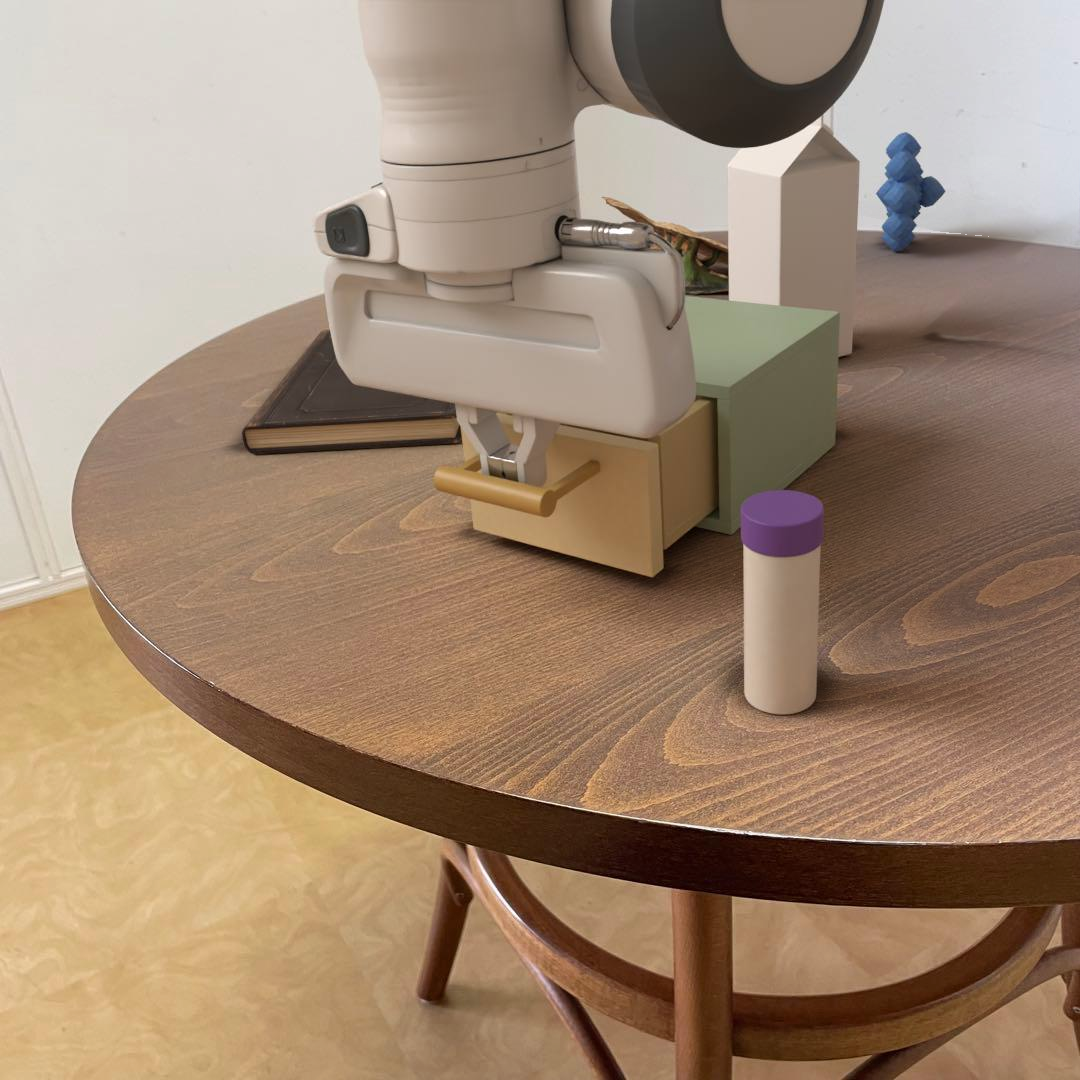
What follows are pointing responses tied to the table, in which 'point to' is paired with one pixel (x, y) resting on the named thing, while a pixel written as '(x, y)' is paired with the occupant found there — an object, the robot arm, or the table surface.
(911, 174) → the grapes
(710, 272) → the green animal figurine
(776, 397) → the cabinet
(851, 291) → the milk carton
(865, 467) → the table surface
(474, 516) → the drawer
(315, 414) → the hardcover book
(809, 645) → the glue stick
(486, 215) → the robot arm
